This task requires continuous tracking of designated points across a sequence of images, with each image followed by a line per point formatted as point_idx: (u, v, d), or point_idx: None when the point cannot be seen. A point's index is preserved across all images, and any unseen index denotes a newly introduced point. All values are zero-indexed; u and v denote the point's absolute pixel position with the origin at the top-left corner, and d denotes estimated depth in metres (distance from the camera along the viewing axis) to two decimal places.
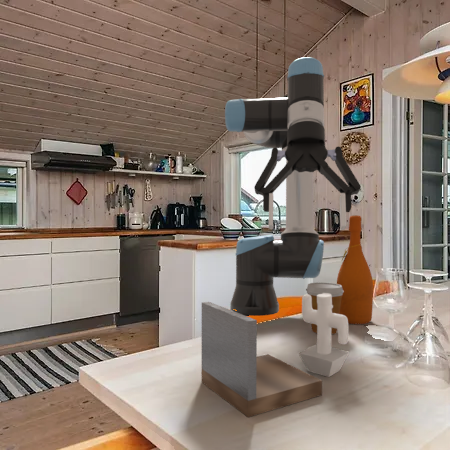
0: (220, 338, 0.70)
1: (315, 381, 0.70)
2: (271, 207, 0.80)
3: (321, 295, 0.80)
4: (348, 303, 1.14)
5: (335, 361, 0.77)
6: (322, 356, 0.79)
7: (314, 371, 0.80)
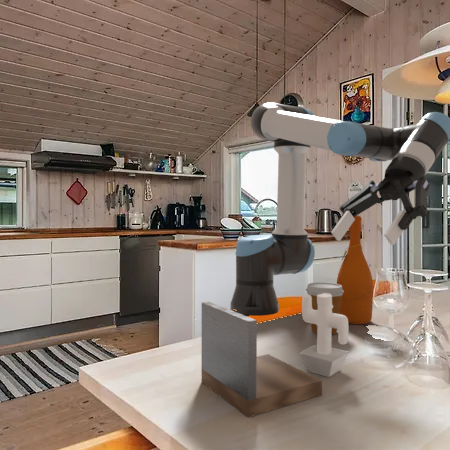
0: (220, 338, 0.70)
1: (315, 381, 0.70)
2: None
3: (321, 295, 0.80)
4: (348, 303, 1.14)
5: (335, 362, 0.77)
6: (322, 356, 0.79)
7: (314, 371, 0.80)
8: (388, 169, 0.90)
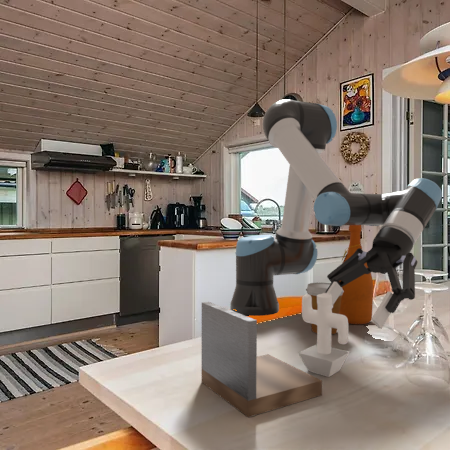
0: (220, 338, 0.70)
1: (315, 381, 0.70)
2: None
3: (321, 295, 0.80)
4: (348, 303, 1.14)
5: (335, 361, 0.77)
6: (322, 356, 0.79)
7: (314, 371, 0.80)
8: (376, 240, 0.88)
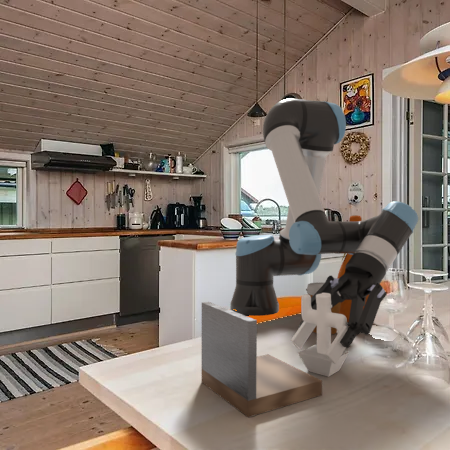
0: (220, 338, 0.70)
1: (315, 381, 0.70)
2: None
3: (320, 295, 0.80)
4: (348, 303, 1.14)
5: None
6: (321, 356, 0.79)
7: (314, 371, 0.80)
8: (348, 266, 0.86)
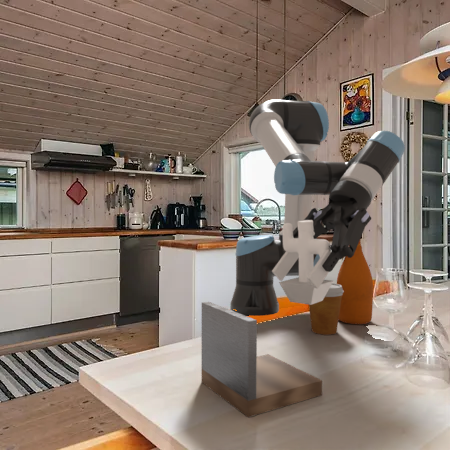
0: (220, 338, 0.70)
1: (315, 381, 0.70)
2: None
3: (302, 221, 0.76)
4: (348, 303, 1.14)
5: None
6: (303, 283, 0.75)
7: (296, 300, 0.76)
8: (331, 195, 0.82)
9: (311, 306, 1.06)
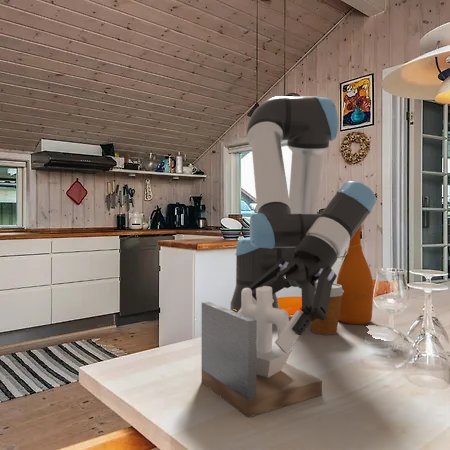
0: (220, 338, 0.70)
1: (315, 381, 0.70)
2: None
3: (260, 288, 0.73)
4: (348, 303, 1.14)
5: (274, 361, 0.71)
6: (260, 355, 0.72)
7: None
8: (296, 250, 0.78)
9: None
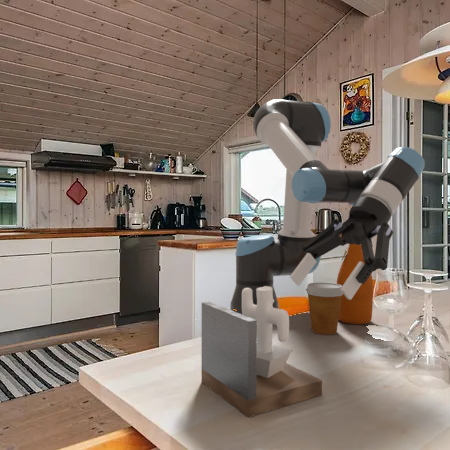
0: (220, 338, 0.70)
1: (315, 381, 0.70)
2: None
3: (261, 288, 0.73)
4: (348, 303, 1.14)
5: (274, 361, 0.71)
6: (260, 355, 0.72)
7: None
8: (352, 210, 0.84)
9: (311, 306, 1.06)
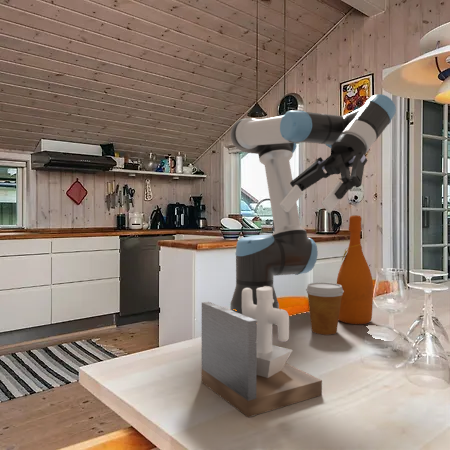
0: (220, 338, 0.70)
1: (315, 381, 0.70)
2: None
3: (261, 288, 0.73)
4: (348, 303, 1.14)
5: (274, 361, 0.71)
6: (260, 355, 0.72)
7: None
8: (333, 146, 0.97)
9: (311, 306, 1.06)
